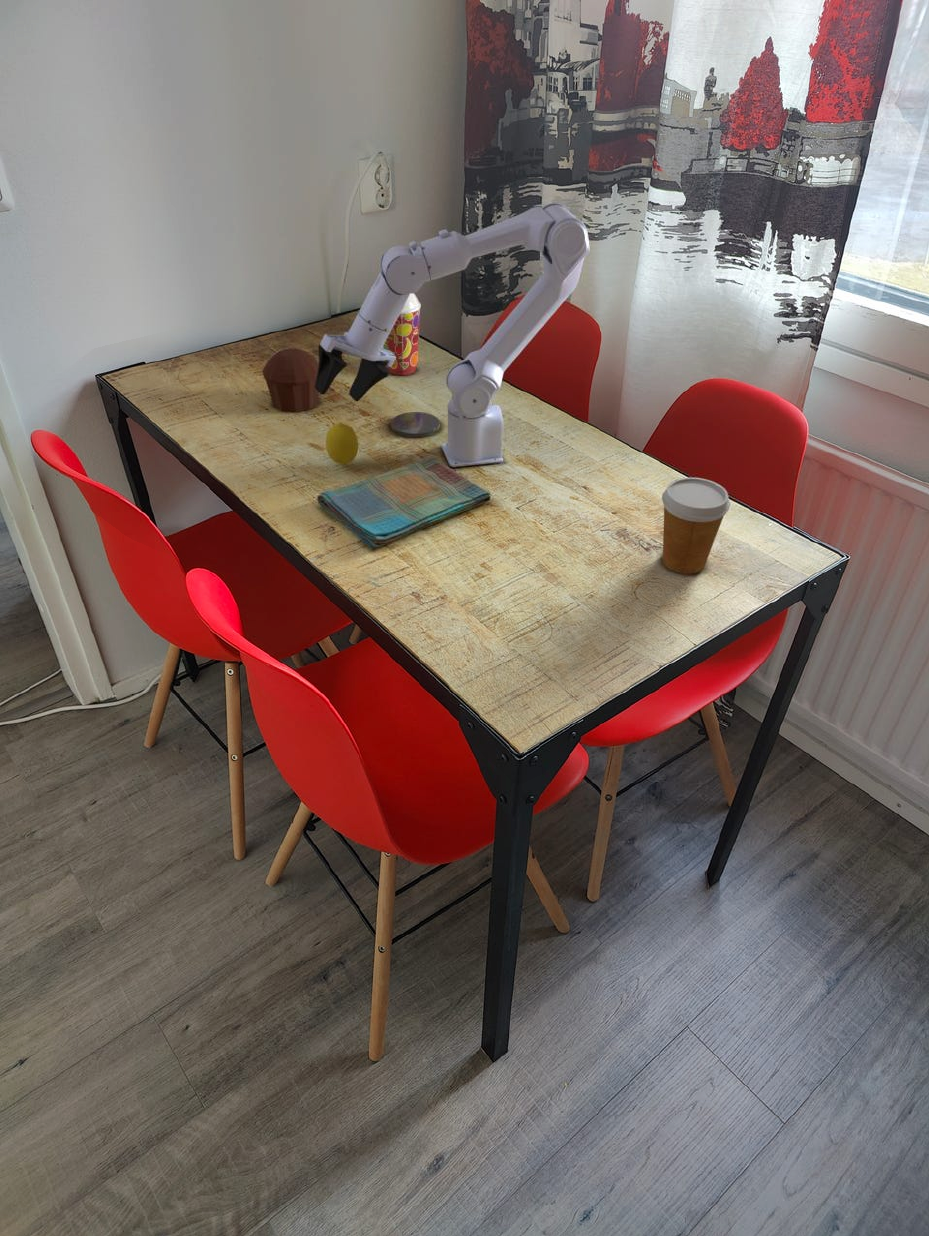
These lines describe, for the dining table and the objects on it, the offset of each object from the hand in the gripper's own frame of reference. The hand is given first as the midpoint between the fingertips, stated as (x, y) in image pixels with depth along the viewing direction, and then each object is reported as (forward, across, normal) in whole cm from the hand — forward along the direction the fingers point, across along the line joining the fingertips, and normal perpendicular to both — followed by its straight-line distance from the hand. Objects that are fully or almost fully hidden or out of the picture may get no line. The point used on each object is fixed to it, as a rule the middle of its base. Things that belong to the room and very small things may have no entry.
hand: (336, 394), depth 148 cm
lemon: (+12, -6, +3) cm, 13 cm away
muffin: (+15, -14, -23) cm, 31 cm away
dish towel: (+7, -5, +20) cm, 22 cm away
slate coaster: (+4, -23, -1) cm, 24 cm away
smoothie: (+3, -37, -23) cm, 44 cm away
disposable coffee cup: (-12, -22, +57) cm, 62 cm away
